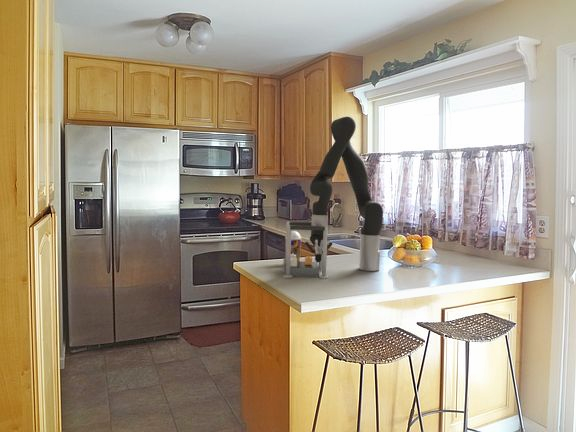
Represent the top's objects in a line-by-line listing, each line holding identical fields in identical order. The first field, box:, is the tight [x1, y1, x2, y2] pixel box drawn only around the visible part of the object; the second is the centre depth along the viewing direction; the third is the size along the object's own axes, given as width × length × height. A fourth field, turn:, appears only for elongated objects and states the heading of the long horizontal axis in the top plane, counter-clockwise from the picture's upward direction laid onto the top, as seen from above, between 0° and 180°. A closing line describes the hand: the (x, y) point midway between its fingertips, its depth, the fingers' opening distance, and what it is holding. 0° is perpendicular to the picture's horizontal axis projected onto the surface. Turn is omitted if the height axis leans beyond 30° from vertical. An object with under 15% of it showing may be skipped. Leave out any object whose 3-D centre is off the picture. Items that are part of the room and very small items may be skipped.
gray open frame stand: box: [282, 221, 329, 280], centre depth 205 cm, size 20×20×23 cm
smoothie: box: [284, 225, 303, 261], centre depth 223 cm, size 8×8×20 cm
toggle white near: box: [290, 258, 297, 266], centre depth 201 cm, size 3×3×4 cm
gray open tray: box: [282, 257, 320, 278], centre depth 206 cm, size 16×14×6 cm
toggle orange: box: [304, 255, 313, 265], centre depth 206 cm, size 3×3×4 cm
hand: (317, 262), depth 206 cm, fingers closed
